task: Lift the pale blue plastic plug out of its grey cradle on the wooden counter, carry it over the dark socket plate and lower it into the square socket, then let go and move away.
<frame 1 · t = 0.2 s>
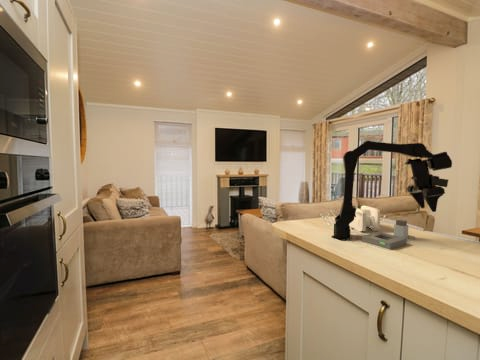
hand: (428, 209, 106), 15 cm above the worktop, tool pointing down, fingers open, 9 cm apart
cradle: (400, 239, 115), on the worktop
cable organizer: (362, 230, 131), on the worktop
plug: (400, 238, 115), resting on cradle
socket plate: (383, 244, 108), on the worktop
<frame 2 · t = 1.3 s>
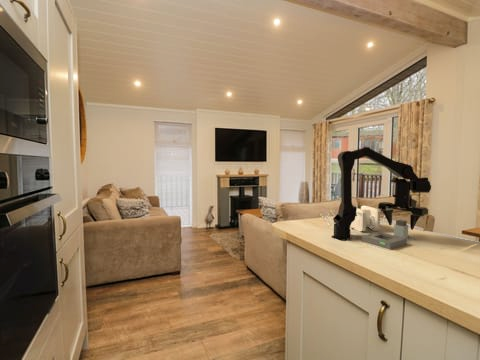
hand: (400, 227, 114), 6 cm above the worktop, tool pointing down, fingers open, 9 cm apart
nothing on the worktop moved.
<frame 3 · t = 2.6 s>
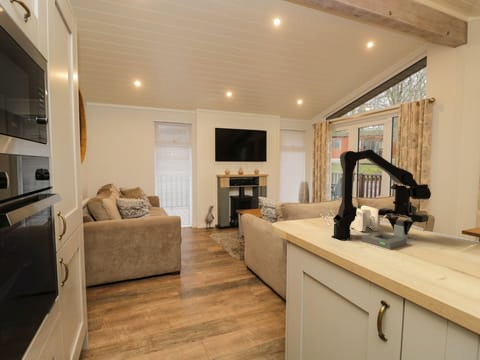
hand: (400, 233, 115), 3 cm above the worktop, tool pointing down, fingers closed on plug, 4 cm apart
plug: (400, 238, 115), resting on cradle, touching gripper
everything else where it was.
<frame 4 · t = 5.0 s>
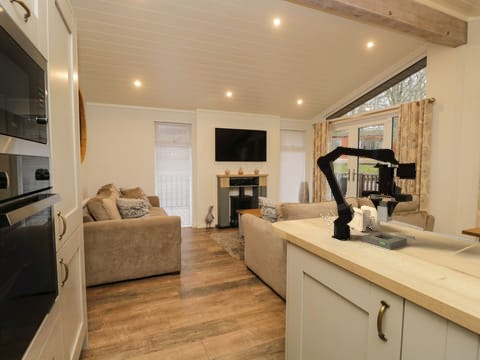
hand: (384, 215, 107), 12 cm above the worktop, tool pointing down, fingers closed on plug, 4 cm apart
plug: (384, 220, 108), point 10 cm above the worktop, touching gripper
everything else where it was.
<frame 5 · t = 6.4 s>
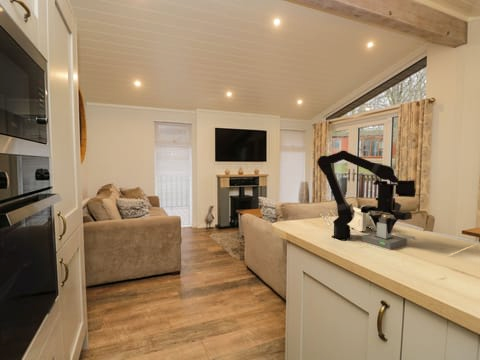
hand: (384, 232, 108), 5 cm above the worktop, tool pointing down, fingers closed on plug, 4 cm apart
plug: (383, 236, 108), point 3 cm above the worktop, touching gripper
everything else where it was.
when the fingers open (4 cm above the worktop, at t = 7.5 s): plug drops 1 cm, resting on socket plate.
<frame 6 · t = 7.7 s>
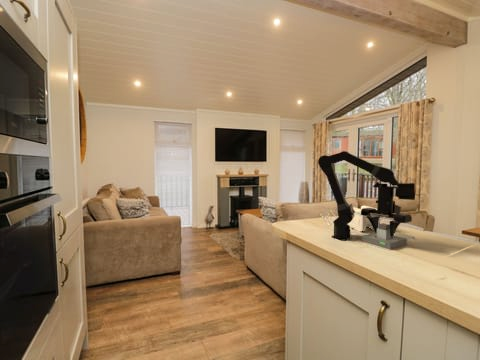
hand: (384, 234, 108), 4 cm above the worktop, tool pointing down, fingers open, 6 cm apart
plug: (383, 242, 108), resting on socket plate
everything else where it was.
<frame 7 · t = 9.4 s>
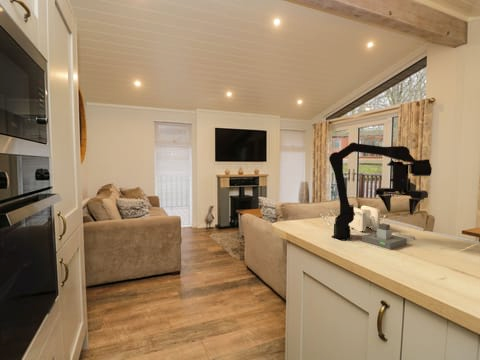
hand: (399, 213, 108), 13 cm above the worktop, tool pointing down, fingers open, 9 cm apart
nothing on the worktop moved.
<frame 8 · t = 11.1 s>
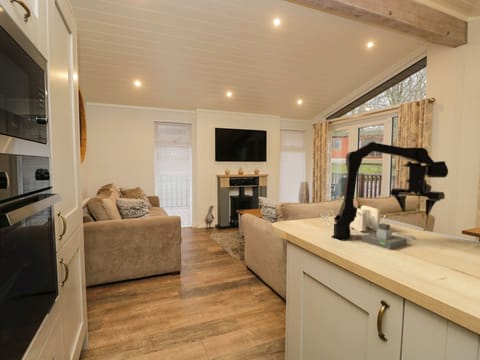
hand: (415, 213, 110), 13 cm above the worktop, tool pointing down, fingers open, 9 cm apart
nothing on the worktop moved.
at the end: plug 0.1 cm off-centre on the socket plate, point 0.5 cm above the socket plate's base; plug tilted 0°; the gripper is holding nothing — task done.
